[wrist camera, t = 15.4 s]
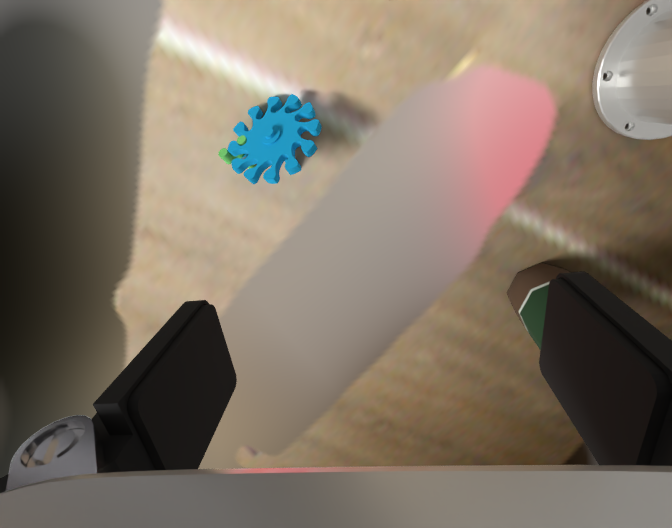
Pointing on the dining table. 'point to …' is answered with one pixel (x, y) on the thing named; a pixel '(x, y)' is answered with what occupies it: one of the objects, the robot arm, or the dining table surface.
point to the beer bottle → (533, 297)
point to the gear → (272, 140)
